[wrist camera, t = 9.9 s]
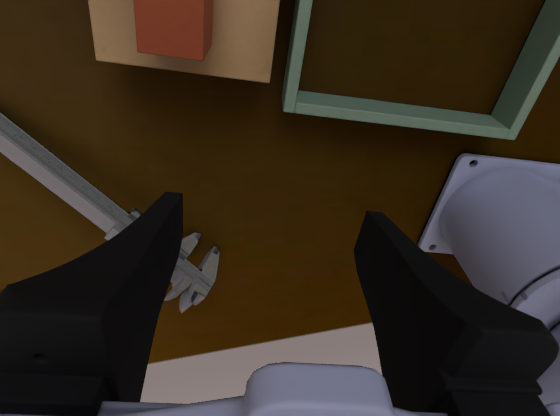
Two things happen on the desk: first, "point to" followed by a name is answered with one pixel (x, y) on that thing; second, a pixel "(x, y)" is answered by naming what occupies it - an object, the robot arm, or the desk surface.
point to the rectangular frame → (501, 124)
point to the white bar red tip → (174, 27)
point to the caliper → (103, 209)
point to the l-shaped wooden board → (222, 54)
